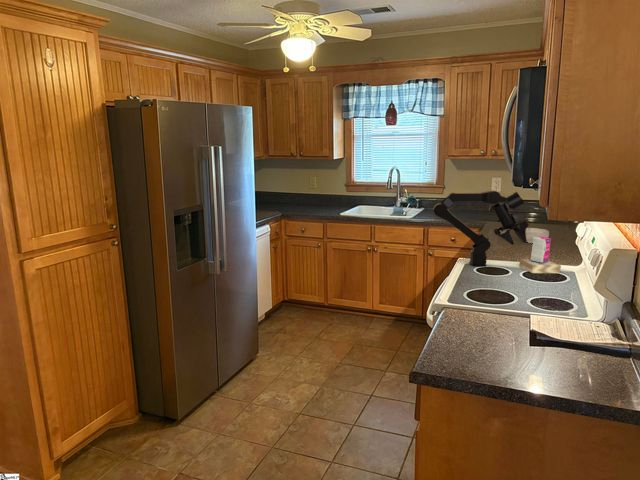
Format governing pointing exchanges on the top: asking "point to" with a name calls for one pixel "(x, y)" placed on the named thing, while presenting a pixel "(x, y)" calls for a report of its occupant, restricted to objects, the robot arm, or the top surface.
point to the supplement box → (540, 249)
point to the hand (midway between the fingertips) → (519, 243)
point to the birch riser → (540, 266)
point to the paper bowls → (535, 234)
